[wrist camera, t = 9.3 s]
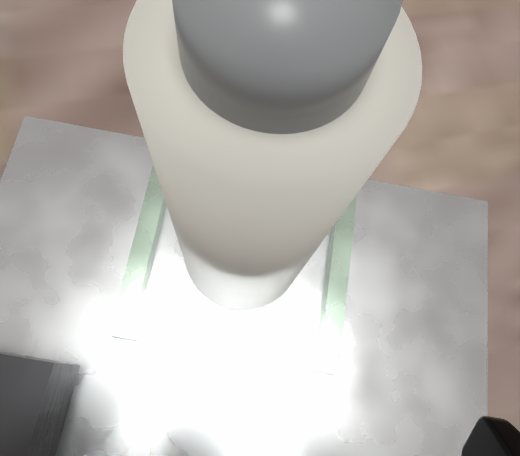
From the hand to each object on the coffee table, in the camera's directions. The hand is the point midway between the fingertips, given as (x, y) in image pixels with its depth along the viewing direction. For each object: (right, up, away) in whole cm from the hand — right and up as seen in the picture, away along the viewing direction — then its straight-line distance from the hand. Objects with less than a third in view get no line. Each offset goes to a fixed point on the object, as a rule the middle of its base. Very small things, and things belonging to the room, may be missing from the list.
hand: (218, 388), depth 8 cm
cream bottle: (0, +2, +12) cm, 12 cm away
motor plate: (-1, -2, +13) cm, 14 cm away
